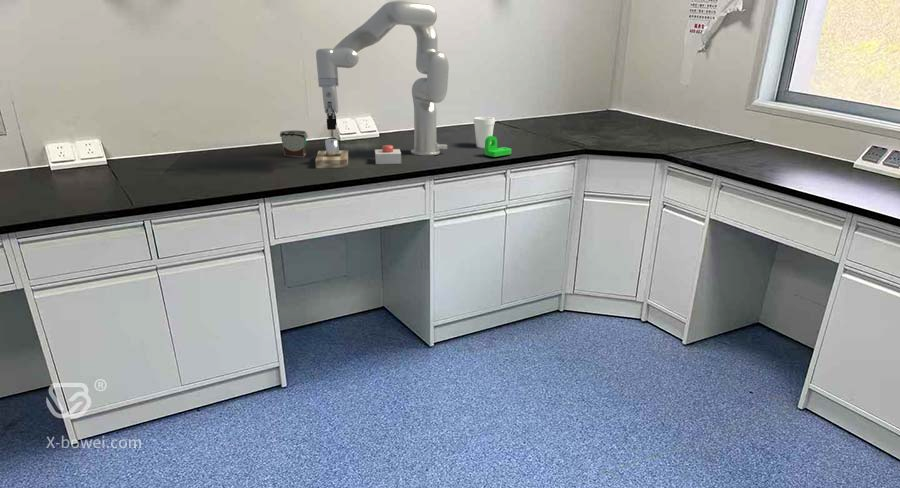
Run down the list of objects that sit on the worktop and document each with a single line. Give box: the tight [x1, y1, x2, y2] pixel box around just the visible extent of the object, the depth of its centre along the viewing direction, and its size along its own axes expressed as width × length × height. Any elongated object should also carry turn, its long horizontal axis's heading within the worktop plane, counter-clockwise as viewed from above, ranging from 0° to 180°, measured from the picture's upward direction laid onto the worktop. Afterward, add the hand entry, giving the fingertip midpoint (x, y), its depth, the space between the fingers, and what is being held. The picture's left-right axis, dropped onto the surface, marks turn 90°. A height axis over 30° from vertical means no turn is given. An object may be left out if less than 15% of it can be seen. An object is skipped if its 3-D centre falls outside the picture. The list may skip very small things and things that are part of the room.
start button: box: [381, 144, 394, 152], centre depth 241 cm, size 4×4×2 cm
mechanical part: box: [484, 135, 512, 158], centre depth 259 cm, size 12×6×8 cm, turn 131°
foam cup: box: [473, 116, 496, 149], centre depth 274 cm, size 10×9×13 cm
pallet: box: [314, 149, 349, 169], centre depth 239 cm, size 12×20×3 cm, turn 8°
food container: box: [279, 130, 308, 158], centre depth 252 cm, size 12×6×10 cm, turn 71°
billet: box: [324, 138, 340, 157], centre depth 238 cm, size 5×5×8 cm
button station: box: [374, 148, 402, 165], centre depth 242 cm, size 10×10×4 cm
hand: (332, 127), depth 236 cm, fingers open, 9 cm apart
